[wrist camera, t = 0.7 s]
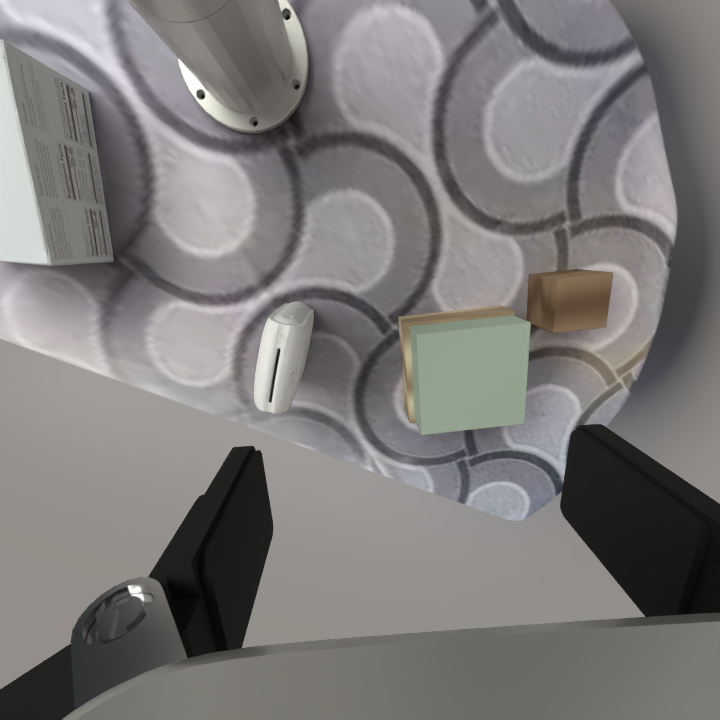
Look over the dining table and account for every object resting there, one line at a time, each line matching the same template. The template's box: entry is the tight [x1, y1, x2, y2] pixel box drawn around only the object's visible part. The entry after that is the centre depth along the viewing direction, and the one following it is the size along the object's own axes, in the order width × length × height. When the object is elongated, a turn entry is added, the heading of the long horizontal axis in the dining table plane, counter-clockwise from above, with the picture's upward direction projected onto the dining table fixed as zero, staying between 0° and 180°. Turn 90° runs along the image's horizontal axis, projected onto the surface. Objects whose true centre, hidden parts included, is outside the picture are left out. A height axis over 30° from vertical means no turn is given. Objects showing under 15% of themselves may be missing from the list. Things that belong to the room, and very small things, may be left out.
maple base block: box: [398, 305, 515, 423], centre depth 43 cm, size 13×13×4 cm
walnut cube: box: [526, 269, 613, 333], centre depth 40 cm, size 6×6×6 cm
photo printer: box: [254, 301, 314, 414], centre depth 37 cm, size 10×4×12 cm, turn 167°
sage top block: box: [410, 315, 531, 435], centre depth 39 cm, size 12×12×4 cm
